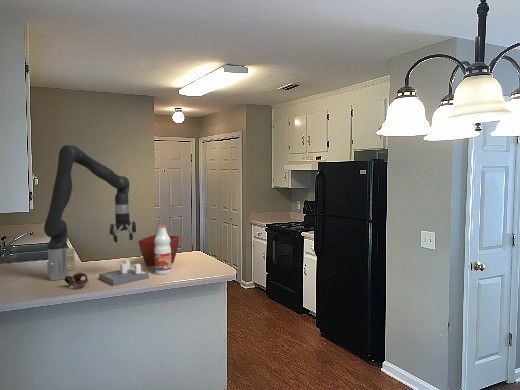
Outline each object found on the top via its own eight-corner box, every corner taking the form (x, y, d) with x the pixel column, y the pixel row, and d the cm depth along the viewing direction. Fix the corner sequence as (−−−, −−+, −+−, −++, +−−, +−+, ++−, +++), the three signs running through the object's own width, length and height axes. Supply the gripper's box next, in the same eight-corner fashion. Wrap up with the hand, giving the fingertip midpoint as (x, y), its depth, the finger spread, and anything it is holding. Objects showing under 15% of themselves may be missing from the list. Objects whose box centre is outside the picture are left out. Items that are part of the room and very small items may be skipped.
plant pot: (166, 269, 255) (165, 241, 254) (138, 267, 260) (137, 240, 258) (180, 261, 273) (179, 236, 272) (154, 260, 278) (153, 235, 277)
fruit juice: (174, 271, 248) (173, 224, 246) (165, 275, 239) (163, 226, 237) (161, 270, 252) (160, 223, 250) (151, 274, 243) (150, 225, 241)
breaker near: (136, 274, 231) (136, 265, 230) (134, 273, 233) (133, 264, 232) (140, 273, 232) (140, 264, 232) (138, 272, 234) (138, 263, 234)
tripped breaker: (122, 273, 232) (122, 264, 232) (120, 272, 234) (120, 263, 234) (127, 272, 234) (126, 264, 233) (124, 271, 236) (124, 263, 236)
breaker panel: (113, 285, 220) (113, 280, 220) (99, 278, 235) (99, 273, 234) (148, 278, 234) (148, 273, 234) (133, 272, 248) (133, 267, 248)
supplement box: (59, 271, 252) (58, 250, 251) (60, 269, 257) (59, 248, 256) (74, 270, 254) (73, 249, 253) (75, 268, 259) (74, 247, 258)
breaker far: (126, 270, 240) (125, 261, 240) (123, 269, 242) (123, 260, 242) (130, 269, 242) (130, 260, 241) (128, 268, 244) (127, 259, 244)
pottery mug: (89, 284, 226) (91, 272, 223) (84, 296, 218) (85, 285, 214) (66, 279, 224) (67, 268, 220) (59, 292, 216) (60, 280, 212)
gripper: (112, 214, 226) (113, 243, 227) (137, 211, 235) (138, 240, 237) (106, 213, 232) (108, 242, 233) (131, 210, 241) (132, 238, 242)
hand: (123, 241), depth 235 cm, fingers open, 8 cm apart
